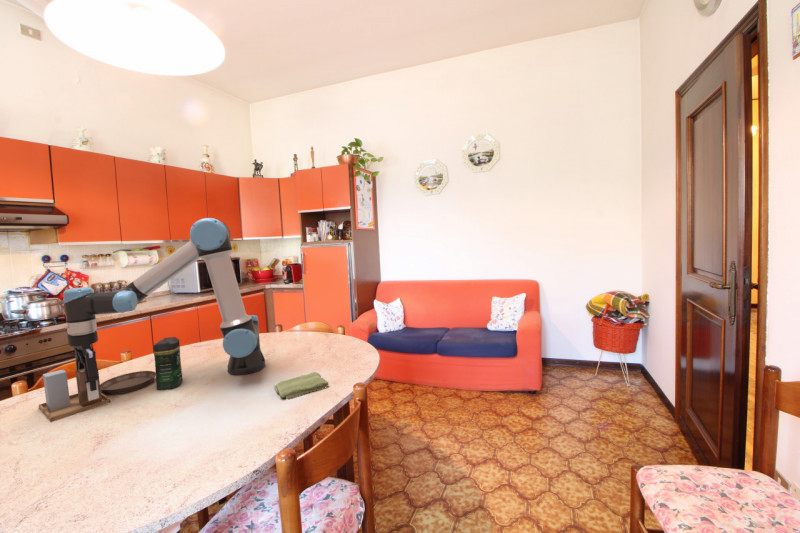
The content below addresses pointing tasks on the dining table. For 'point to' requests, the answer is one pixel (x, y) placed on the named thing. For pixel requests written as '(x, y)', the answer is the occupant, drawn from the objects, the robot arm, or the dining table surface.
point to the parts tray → (71, 408)
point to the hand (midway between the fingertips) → (89, 396)
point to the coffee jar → (167, 363)
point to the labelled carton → (85, 389)
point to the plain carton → (56, 390)
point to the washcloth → (300, 385)
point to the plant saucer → (127, 382)
